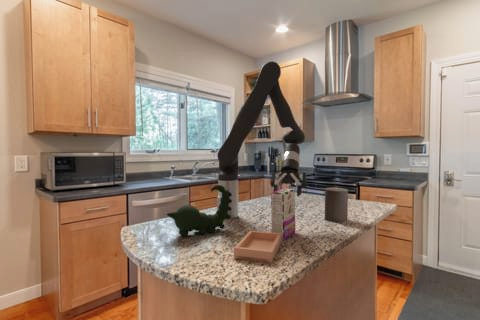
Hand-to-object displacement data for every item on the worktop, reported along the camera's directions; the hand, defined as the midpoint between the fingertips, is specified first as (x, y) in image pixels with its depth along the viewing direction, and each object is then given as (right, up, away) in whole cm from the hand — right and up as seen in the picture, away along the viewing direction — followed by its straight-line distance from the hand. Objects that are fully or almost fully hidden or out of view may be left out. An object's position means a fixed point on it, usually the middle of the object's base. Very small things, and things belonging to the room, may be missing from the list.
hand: (286, 194), depth 103 cm
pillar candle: (+24, -13, +15) cm, 31 cm away
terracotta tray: (-12, -14, -21) cm, 28 cm away
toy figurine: (-33, -14, -4) cm, 36 cm away
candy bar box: (-3, -14, -7) cm, 16 cm away
